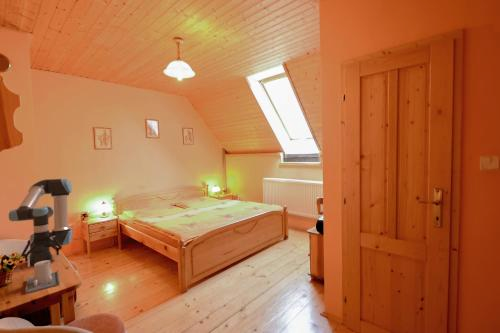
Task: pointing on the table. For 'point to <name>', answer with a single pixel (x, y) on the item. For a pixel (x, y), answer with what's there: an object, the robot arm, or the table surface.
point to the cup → (42, 271)
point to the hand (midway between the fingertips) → (42, 263)
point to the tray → (33, 285)
